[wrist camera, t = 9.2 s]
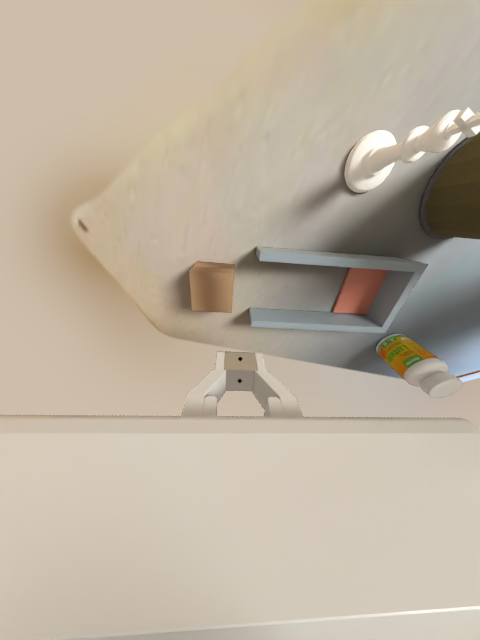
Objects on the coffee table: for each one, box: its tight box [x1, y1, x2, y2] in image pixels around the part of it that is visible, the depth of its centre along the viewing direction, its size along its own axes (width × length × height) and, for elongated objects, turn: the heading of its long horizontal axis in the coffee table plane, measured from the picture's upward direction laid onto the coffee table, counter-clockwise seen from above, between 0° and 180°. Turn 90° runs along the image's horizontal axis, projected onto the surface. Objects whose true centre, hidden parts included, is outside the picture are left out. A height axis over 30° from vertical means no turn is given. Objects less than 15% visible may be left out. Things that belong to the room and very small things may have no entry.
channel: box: [249, 247, 428, 333], centre depth 24 cm, size 20×10×4 cm, turn 86°
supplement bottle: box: [376, 334, 463, 398], centre depth 27 cm, size 5×5×10 cm
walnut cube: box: [189, 261, 234, 313], centre depth 22 cm, size 5×5×5 cm
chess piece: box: [345, 107, 480, 193], centre depth 14 cm, size 5×5×10 cm
